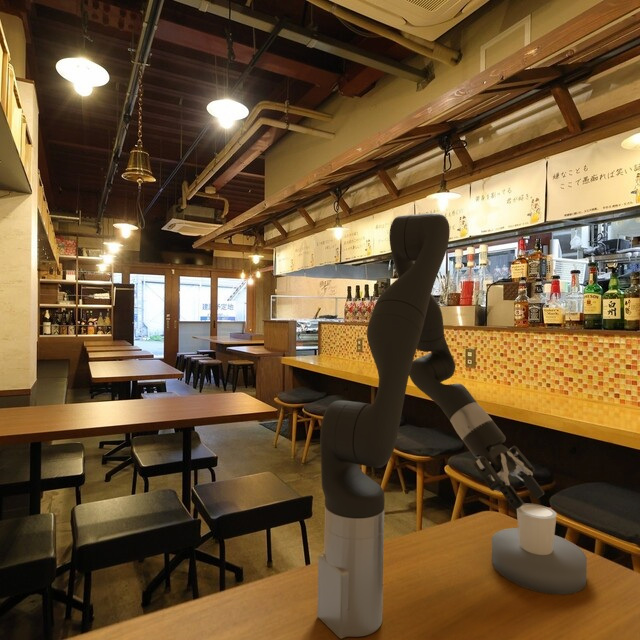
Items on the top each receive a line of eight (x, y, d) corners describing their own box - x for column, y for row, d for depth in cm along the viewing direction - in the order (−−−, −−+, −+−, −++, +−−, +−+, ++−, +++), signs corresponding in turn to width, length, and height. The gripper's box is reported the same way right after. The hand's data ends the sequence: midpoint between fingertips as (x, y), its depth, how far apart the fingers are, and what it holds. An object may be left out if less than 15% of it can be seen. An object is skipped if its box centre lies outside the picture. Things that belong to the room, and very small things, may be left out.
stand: (557, 605, 74) (557, 581, 74) (474, 561, 87) (474, 541, 87) (603, 576, 83) (603, 554, 83) (521, 540, 96) (521, 521, 96)
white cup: (521, 534, 90) (521, 499, 90) (559, 546, 85) (560, 509, 85) (511, 548, 84) (511, 510, 84) (551, 560, 80) (552, 521, 80)
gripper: (469, 423, 88) (527, 501, 79) (506, 415, 97) (561, 483, 88) (446, 444, 92) (498, 520, 83) (482, 434, 101) (533, 502, 92)
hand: (530, 501), depth 86 cm, fingers open, 8 cm apart
